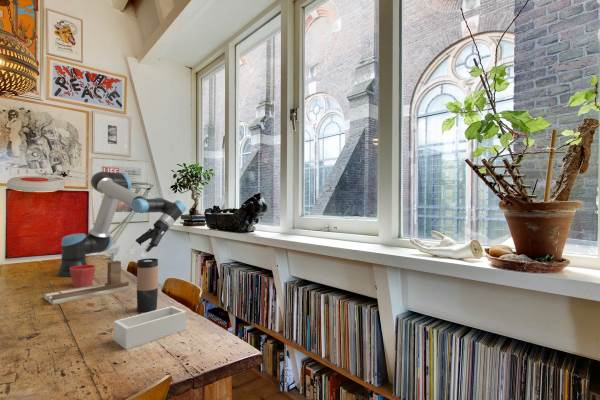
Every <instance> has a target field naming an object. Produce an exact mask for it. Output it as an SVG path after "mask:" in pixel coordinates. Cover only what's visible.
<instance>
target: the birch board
mask: <svg viewBox="0 0 600 400" xmlns="http://www.w3.org/2000/svg"><path fill="white" fill-rule="evenodd" d="M105 283H106V282H105ZM105 283H104V282H103V283H99V284H94V285H92V284H91V285H90V286H87V287H79V288H77V287H74V288H69V289H65V290H59V291H53V292H47V293H44V294H43V296H44V297H43V298H44V300H46V301H47V302H48V303H50V304H51V305H52V306H55V305H59V304H65V303H71V302H75V301H79V300H86V299H90V298H95V297H101V296H105V295H111V294H115V293H120V292H126V291H129V290H130V288H129V287H130V284H129V283H130V282H129V281H125V282H122V283H119V284H113V285H107V286H105Z"/></svg>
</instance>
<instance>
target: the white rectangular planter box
mask: <svg viewBox="0 0 600 400" xmlns="http://www.w3.org/2000/svg"><path fill="white" fill-rule="evenodd" d="M187 318H188V317H187V311H186V310H183V309H182V308H181V309H180V308H178V307H176V306H174V305H171V306H167V307H163V308H159V309H156V310H154V311H151V312H146V313H140V314H136V315H133V316H129V317H125V318H121V319H117V320H114V321H113V341H114V342H115V343H116V344H118V345H120V347H122V348H123V349H124V350H129V349H132V348H135V347H139V346H140V345H144V344H146V343H150V342H152V341H156V340H158V339H161V338H164V337H168V336H170V335H174V334H176V333H180V332H182V331H185V330H187Z"/></svg>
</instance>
